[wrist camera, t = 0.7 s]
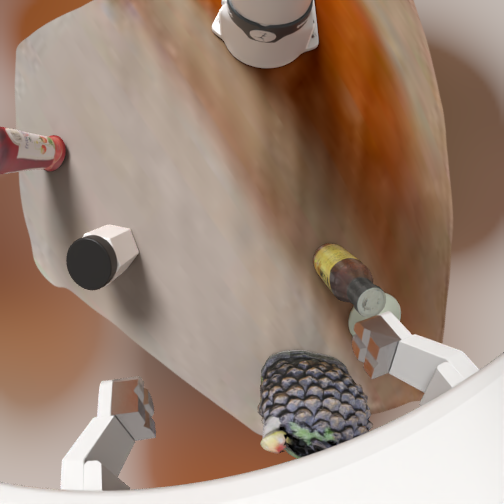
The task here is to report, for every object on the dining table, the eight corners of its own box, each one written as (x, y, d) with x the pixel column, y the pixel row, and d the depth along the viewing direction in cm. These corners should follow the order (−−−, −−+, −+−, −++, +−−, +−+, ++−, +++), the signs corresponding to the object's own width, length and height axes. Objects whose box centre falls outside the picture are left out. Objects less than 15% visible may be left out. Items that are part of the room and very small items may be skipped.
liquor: (76, 153, 50) (-33, 147, 23) (52, 180, 51) (-56, 192, 24) (58, 127, 49) (-48, 110, 21) (35, 154, 50) (-70, 153, 22)
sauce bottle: (304, 262, 55) (333, 307, 36) (327, 234, 54) (367, 265, 35) (332, 283, 56) (369, 334, 37) (353, 256, 55) (401, 295, 36)
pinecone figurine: (245, 391, 62) (244, 486, 37) (266, 331, 58) (278, 423, 34) (335, 406, 63) (365, 491, 39) (363, 351, 60) (412, 433, 36)
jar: (94, 263, 55) (63, 283, 43) (98, 221, 53) (65, 232, 41) (137, 273, 56) (112, 297, 44) (142, 230, 54) (116, 244, 42)
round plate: (356, 288, 57) (358, 290, 56) (405, 295, 57) (407, 296, 56) (341, 340, 59) (342, 342, 58) (389, 344, 60) (390, 346, 59)
